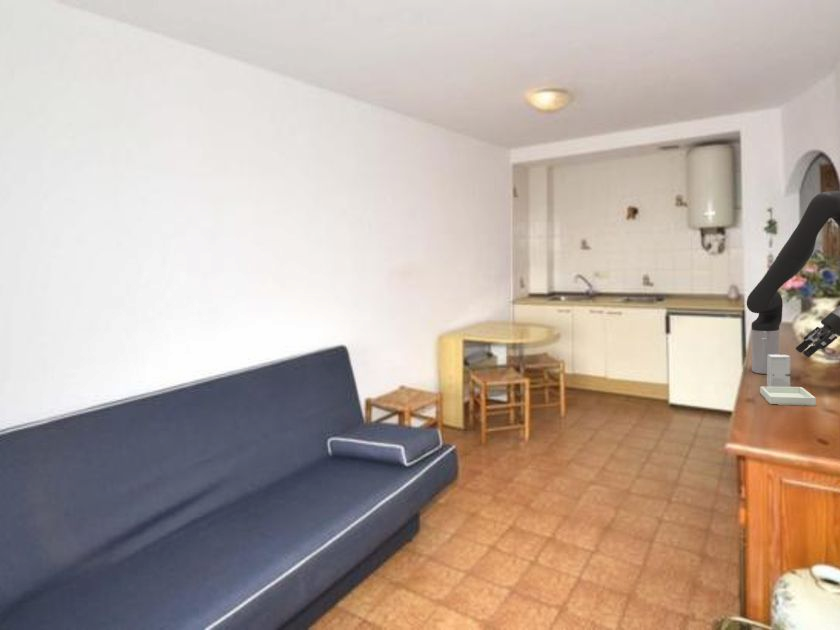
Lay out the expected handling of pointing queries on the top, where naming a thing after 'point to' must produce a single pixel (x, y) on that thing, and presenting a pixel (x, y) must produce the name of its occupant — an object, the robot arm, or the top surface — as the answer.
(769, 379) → the skincare box
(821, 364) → the top surface
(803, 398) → the tray
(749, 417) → the top surface
